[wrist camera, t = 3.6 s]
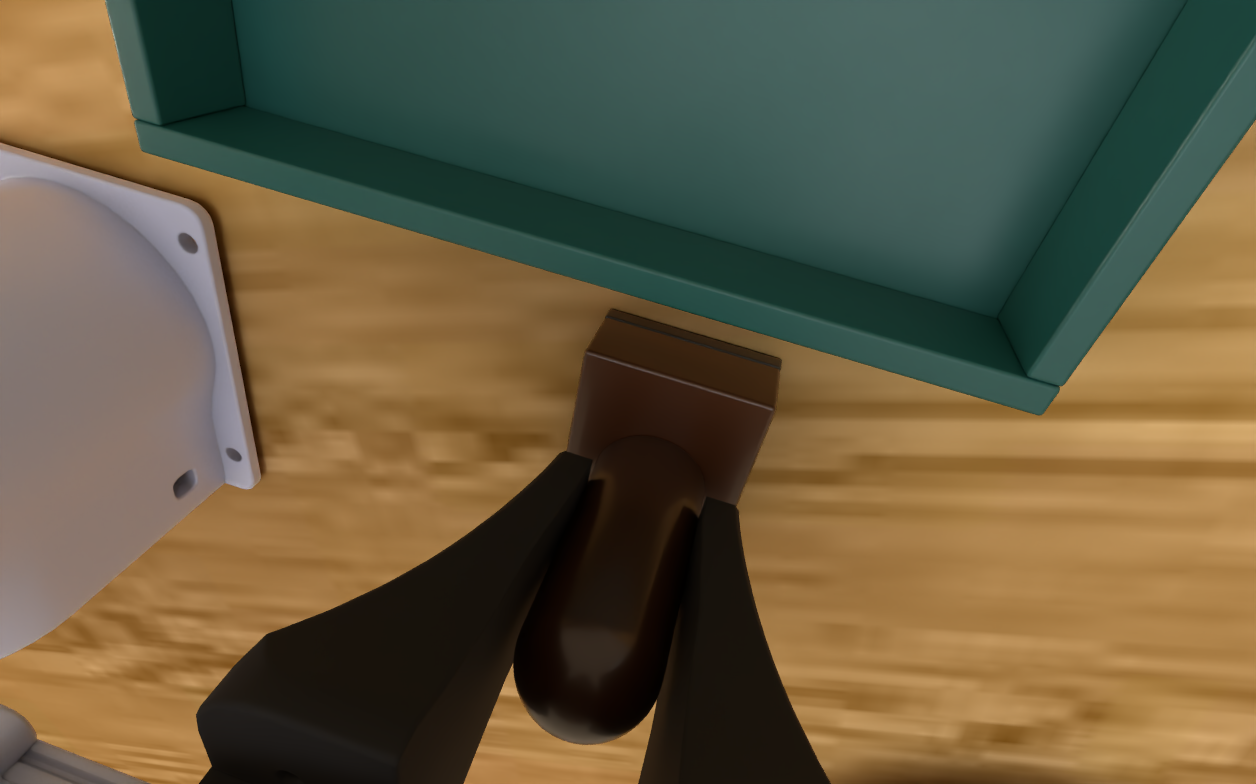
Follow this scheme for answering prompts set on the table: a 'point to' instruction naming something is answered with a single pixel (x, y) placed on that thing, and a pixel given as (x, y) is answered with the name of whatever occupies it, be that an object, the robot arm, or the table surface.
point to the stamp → (637, 518)
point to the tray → (741, 150)
